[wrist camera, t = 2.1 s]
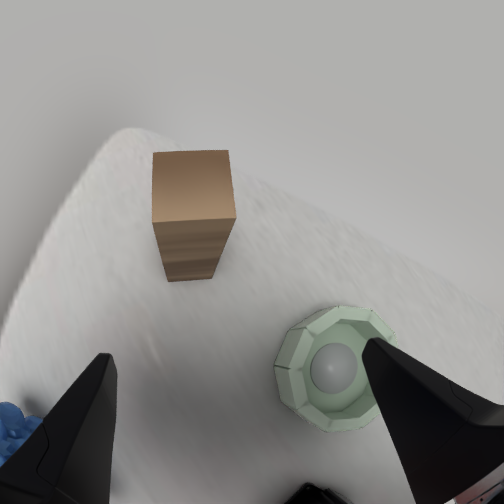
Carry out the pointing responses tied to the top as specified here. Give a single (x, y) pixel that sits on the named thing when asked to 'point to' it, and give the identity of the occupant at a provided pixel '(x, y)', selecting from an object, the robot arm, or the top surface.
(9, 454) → the grapes
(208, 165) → the layered tan brick
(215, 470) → the top surface
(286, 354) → the pale green faceted bowl
